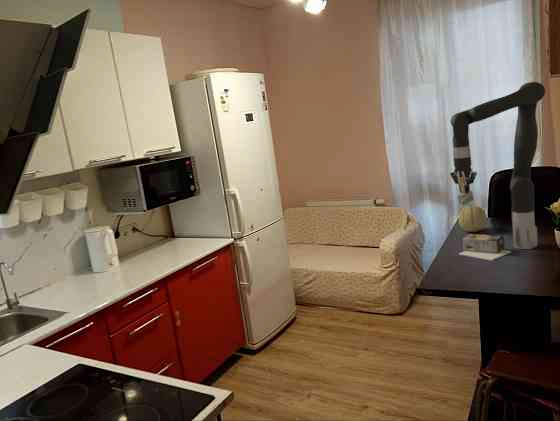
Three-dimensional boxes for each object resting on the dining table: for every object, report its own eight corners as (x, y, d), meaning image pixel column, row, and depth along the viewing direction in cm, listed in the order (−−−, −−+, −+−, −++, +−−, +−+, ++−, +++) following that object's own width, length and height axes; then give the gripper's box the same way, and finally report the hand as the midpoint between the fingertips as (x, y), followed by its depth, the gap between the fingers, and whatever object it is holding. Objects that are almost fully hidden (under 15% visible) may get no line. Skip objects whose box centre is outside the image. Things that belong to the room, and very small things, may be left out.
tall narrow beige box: (473, 199, 218) (469, 174, 215) (463, 205, 214) (458, 179, 211) (470, 199, 220) (465, 174, 216) (459, 205, 216) (454, 179, 213)
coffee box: (469, 233, 225) (504, 235, 214) (470, 245, 226) (504, 248, 215) (462, 238, 218) (498, 240, 208) (463, 251, 219) (498, 253, 209)
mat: (511, 252, 210) (511, 251, 210) (491, 260, 202) (491, 259, 202) (478, 246, 224) (478, 245, 224) (458, 254, 217) (458, 253, 217)
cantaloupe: (470, 236, 243) (469, 209, 240) (453, 231, 257) (451, 205, 254) (494, 231, 246) (492, 204, 244) (475, 226, 260) (474, 201, 258)
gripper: (480, 154, 209) (482, 191, 212) (454, 155, 220) (457, 190, 223) (469, 157, 205) (472, 195, 208) (444, 158, 217) (447, 193, 220)
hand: (464, 192), depth 216 cm, fingers closed on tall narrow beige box, 2 cm apart
